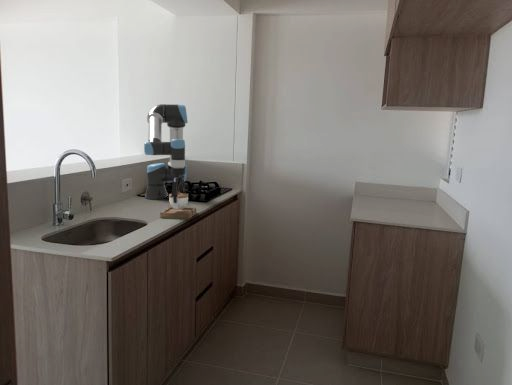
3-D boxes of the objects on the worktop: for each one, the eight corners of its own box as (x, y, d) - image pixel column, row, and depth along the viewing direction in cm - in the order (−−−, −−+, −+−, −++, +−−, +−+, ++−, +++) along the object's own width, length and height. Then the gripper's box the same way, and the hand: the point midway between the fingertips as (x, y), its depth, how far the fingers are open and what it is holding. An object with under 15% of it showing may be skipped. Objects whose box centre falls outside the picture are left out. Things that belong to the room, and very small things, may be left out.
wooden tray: (169, 211, 247) (169, 206, 247) (196, 212, 245) (196, 208, 245) (160, 217, 231) (160, 212, 231) (188, 219, 230) (188, 214, 229)
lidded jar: (173, 210, 230) (172, 193, 229) (166, 207, 239) (166, 190, 238) (191, 209, 236) (191, 192, 234) (184, 205, 245) (183, 189, 243)
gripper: (177, 165, 246) (178, 202, 249) (164, 169, 223) (165, 210, 227) (190, 165, 245) (190, 202, 248) (178, 169, 222) (179, 210, 226)
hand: (178, 206), depth 237 cm, fingers closed on lidded jar, 11 cm apart
